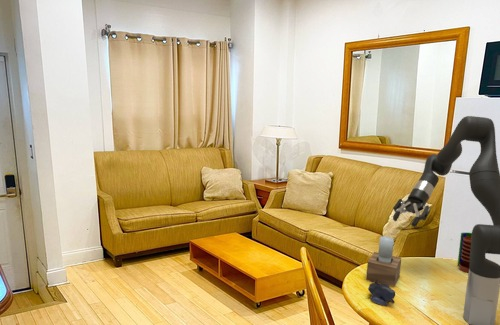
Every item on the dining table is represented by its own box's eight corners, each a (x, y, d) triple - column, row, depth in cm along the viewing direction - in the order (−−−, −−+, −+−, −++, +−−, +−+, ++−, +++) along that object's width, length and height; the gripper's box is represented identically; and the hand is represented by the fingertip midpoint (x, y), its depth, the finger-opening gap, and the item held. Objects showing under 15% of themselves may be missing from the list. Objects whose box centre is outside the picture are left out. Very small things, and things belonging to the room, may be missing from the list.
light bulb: (389, 275, 154) (392, 242, 152) (375, 271, 157) (378, 239, 155) (391, 270, 159) (394, 238, 157) (378, 267, 162) (381, 235, 159)
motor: (452, 267, 172) (457, 224, 168) (465, 264, 175) (471, 222, 172) (473, 276, 163) (479, 231, 159) (487, 273, 166) (493, 229, 163)
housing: (394, 287, 151) (396, 268, 149) (366, 280, 156) (367, 261, 155) (399, 275, 161) (401, 257, 160) (372, 269, 166) (374, 251, 165)
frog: (376, 290, 148) (378, 273, 146) (401, 303, 139) (403, 285, 137) (361, 296, 143) (362, 278, 141) (385, 310, 134) (387, 291, 132)
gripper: (403, 184, 170) (385, 213, 165) (434, 191, 159) (416, 222, 154) (408, 195, 174) (391, 223, 169) (439, 202, 162) (422, 232, 158)
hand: (403, 222), depth 161 cm, fingers open, 8 cm apart
